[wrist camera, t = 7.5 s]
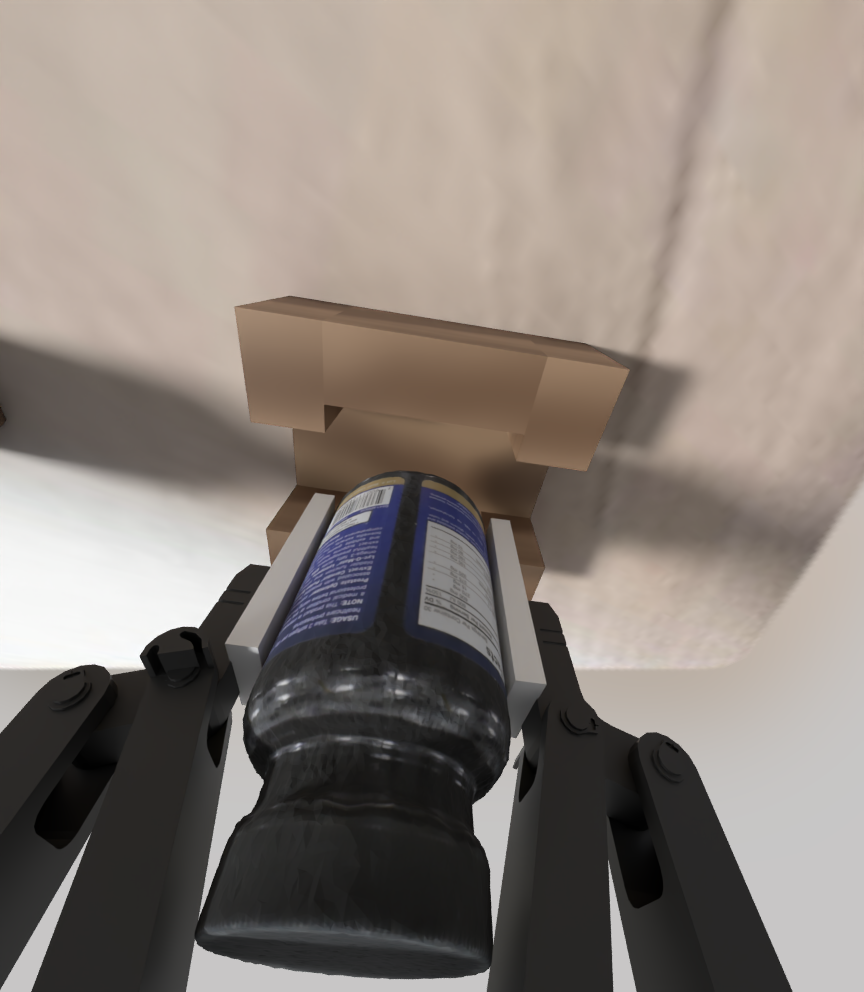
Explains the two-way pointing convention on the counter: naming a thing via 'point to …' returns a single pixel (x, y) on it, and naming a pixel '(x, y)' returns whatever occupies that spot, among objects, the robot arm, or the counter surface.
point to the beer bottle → (2, 418)
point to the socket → (423, 406)
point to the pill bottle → (373, 751)
